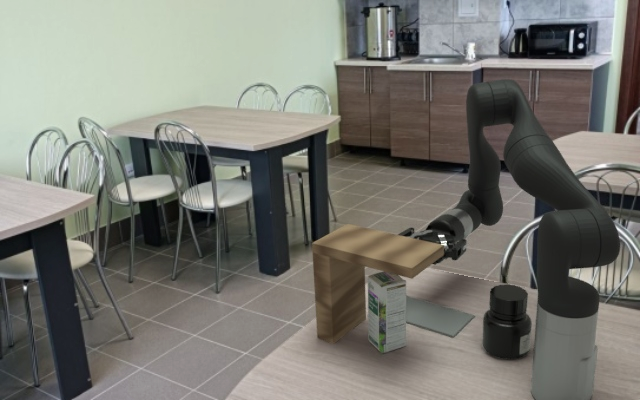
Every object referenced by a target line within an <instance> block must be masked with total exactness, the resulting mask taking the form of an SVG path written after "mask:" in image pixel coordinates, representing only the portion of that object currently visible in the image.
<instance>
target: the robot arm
mask: <svg viewBox="0 0 640 400" xmlns="http://www.w3.org/2000/svg"><path fill="white" fill-rule="evenodd" d="M465 101H466V102H465V103H466V104H465V105H466V106H465V107H466V108H465V109H466V110H465V111H466V126H467V139H468V140H467V141H468V142H467V143H468V151H469V167H468V178H467V187H468V190H466V191H464V192H463V194H462V195H461V196H460V198H459V201H458V203H457V205H456V206H455V207H453V208H452V209H450V210H448V211H446V212H444V213H442V214H441V215H439V216H438V217H436V218H435V219H434V220H432V221H431V222H430V223H429V224H428V225H427V226H426V229H425V230H424V229H423V230H421V231H419V232H418V231H415V227H409V228H407V229H405V230H403V231H402V232H400V233H398V234H397V235H400V236H405V237H409V238H414V239H419V240H423V241H428V242H432V243H437V244H441V245H444V255H443V256H442V257H440V258H439V259H438V260H436V261H435V262H434V263H432V264H431V265H438V264H440V263H442V262H443V261H444V260H448V259H451V260H452V261H457V260H459V259H460V257H462V256H463V255H464V254H465V253H466V252H467V238H468V237H469V236H470V234H472V233H474V232H475V231H476V230H477V229H478V228H479V227H480V226H481V224H482V225H484V226H488V227H491V226H494V225H496V224H497V223H499V221H500V220H501V218H502V216H503V213H504V212H503V211H504V203H503V199H502V193H501V189H500V185H499V184H500V177H501V169H502V167H501V160H500V157H499V154H498V153H497V152H496V150H495V149H494V147H493V146H492V145H491V143H489V141H488V140H487V138H486V137H485V134H484V127H492V126H500V125H507V124H508V125H509V124H510V125H512V126H513V127H512V129H511V130H510V133H509V136H507V139H506V141H505V144H504V148H503V155H502V156H503V161H504V164H505V166H506V168H507V170H508V171H509V172H508V173H510V175H511V177H512V179H513V180H514V182H515V183H516V185H517V186H518V187H519V188H520V189H522V190H523V191H524V192H525V193H527V195H528V194H529V195H530V196H532V197H533V198H535V199H537V200H539V201H541V202H542V203H544V204H546V205H548V206H550V207H552V208H553V209H555V210H553V211H552V210H551V211H547V212H545V213H544V214H543V215H542V217H541V219H540V220H539V224H538V228H537V229H538V230H537V241H536V242H537V243H536V245H537V247H536V248H537V251H536V252H537V254H536V255H537V262H536V263H537V265H536V266H537V267H536V286H537V303H536V314H535V315H536V316H535V329H534V330H535V331H534V342H533V343H534V344H533V357H532V359H533V360H532V373H531V380H530V381H531V389H530V391H531V395H532V397H533V398H534V399H535V400H591V398H592V397H593V394H594V393H593V392H594V384H595V383H594V382H595V374H596V366H597V357H598V349H599V348H598V346H597V345H596V344H595V343H596V334H597V324H598V316H599V308H600V299H601V298H600V293H599V291H598V290H597V288H596V287H594V286H593V284H591V283H588V282H587V281H585V280H582V279H579V278H577V277H573V276H570V275H569V271H570V270H577V269H578V270H579V269H591V268H597V267H598V268H600V267H604V266H608V265H610V264H612V263H614V262H615V261H616V260H617V258H618V257H619V255H620V251H621V240H620V235H619V230H618V229H617V226H616V224H615V222H614V220H613V219H612V216H611V215H610V214H609V213H608V211H607V210H606V209H605V207H604V206H603V205H602V204H601V203H600V202H599V201H598V200H597V199H596V197H595V196H593V195H592V193H591V192H590V191H589V190H588V189H587V188H586V187H585V185H584V184H583V183H582V182H581V180H579V178H578V177H577V175H576V174H575V173H574V171H573V170H572V168H571V167H570V166H569V164H568V163H567V161H566V159H565V158H564V156H563V155H562V153H561V151H560V150H559V148H558V147H557V145H556V144H555V142H554V141H553V139H552V138H551V137H550V136H549V135H548V133H547V132H546V130H545V128H544V127H543V125H542V124H541V123H540V121H539V119H538V118H537V117H536V115H535V113H534V110H533V109H532V107H531V105H530V103H529V101H528V98H527V96H526V94H525V93H524V90H523V89H522V87H521V86H520V84H519V83H518V82H517V81H515V80H514V79H511V78H508V79H507V78H505V79H502V78H501V79H497V80H489V81H482V82H477V83H474V84H472V85H471V86H470V87H469V88H468V90H467V94H466V100H465Z"/></svg>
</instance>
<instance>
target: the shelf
mask: <svg viewBox="0 0 640 400" xmlns="http://www.w3.org/2000/svg"><path fill="white" fill-rule="evenodd" d="M311 247H312V248H311V250H312V265H313V266H312V267H313V281H314V284H313V285H314V299H315V300H314V301H315V319H316V320H315V322H316V337H317V339H319V340H322V341H325V342H327V343H330V344H335V343H336V342H337V341H339V340H340V339H341V338H342V337H344V336H345V335H347V334H348V333H349V332H350V331H352V330H353V329H355V328H356V327H357V326H359V325H360V324H361V323H362V322H363V321H365V320H366V319H367V305H366V304H367V303H366V302H367V301H366V300H367V299H366V268H368V269H369V268H370V269H374V270H376V271H380V272H388V273H392V274H396V275H398V276H400V277H402V278H408V279H411V280H413V279H414V278H415V277H417V276H418V275H419V274H421V273H422V272H424V270H426V269H427V268H429V267H430V266H431V265H433V264H432V263H434V262H435V261H436V260H438V259H439V258H440V257H442V256H443V255H444V245H441V244H437V243H432V242H428V241H423V240H419V239H414V238H409V237H405V236H400V235H398V234H395V233H390V232H385V231H382V230H381V231H380V230H378V229H372V228H367V227H363V226H359V225H354V224H351V223H350V224H349V223H346V224H345V225H342V226H341V227H339V228H337V229H335V230H334V231H332V232H330V233H328V234H326V235H324V236H323V237H321V238H319V239H317V240H315V241H312V243H311Z"/></svg>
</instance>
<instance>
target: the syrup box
mask: <svg viewBox="0 0 640 400" xmlns="http://www.w3.org/2000/svg"><path fill="white" fill-rule="evenodd" d="M406 296H407V280H406V279H403V277H402V276H399V275H396V274H392V273H388V272H384V271H380V272H376V273H372V274H369V275H368V276H367V319H368V320H367V324H368V326H367V327H368V333H367V334H368V342H370V343H371V344H372V346H374V347H375V348H376V349H377V350H378V351H379V352H380V353H381V354H385V353H388V352H392V351H395V350H397V349H401V348H404V347H406V346H407V323H406Z"/></svg>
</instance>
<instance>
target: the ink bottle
mask: <svg viewBox="0 0 640 400" xmlns="http://www.w3.org/2000/svg"><path fill="white" fill-rule="evenodd" d="M528 295H529V293H528V292H527V290H526V289H524V288H522V287H521V286H518V285H515V284H514V285H513V284H497V285H494V286H493V287H492V288H490V292H489V305H488V306H489V309H488V310H486V311H485V312H484V314H483V319H482V341H481V342H482V347H483V349H484V351H486V353H487V354H489V355H491V356H492V357H495V358H498V359H503V360H519V359H522V358H524V357H527V356H528V354H529V353H530V350H531V341H532V322H533V321H532V319H531V317H530V315H529V314H528V313H527V308H528V297H529V296H528Z"/></svg>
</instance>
